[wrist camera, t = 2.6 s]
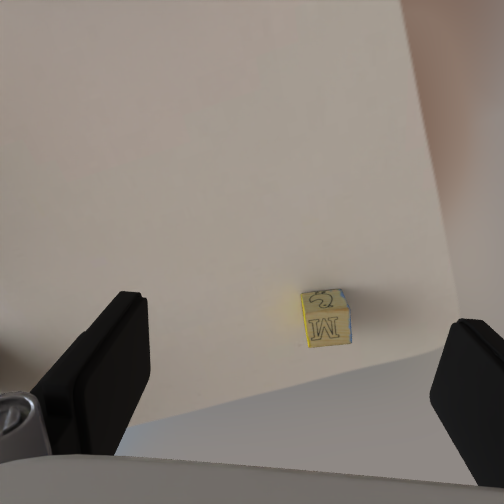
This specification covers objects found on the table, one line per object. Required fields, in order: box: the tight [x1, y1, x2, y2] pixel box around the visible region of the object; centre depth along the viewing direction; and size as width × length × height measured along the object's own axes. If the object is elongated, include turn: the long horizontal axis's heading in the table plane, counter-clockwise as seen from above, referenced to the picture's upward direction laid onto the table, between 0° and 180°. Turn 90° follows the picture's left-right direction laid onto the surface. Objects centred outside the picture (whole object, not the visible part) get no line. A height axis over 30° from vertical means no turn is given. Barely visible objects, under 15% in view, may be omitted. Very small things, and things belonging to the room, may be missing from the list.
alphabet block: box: [301, 289, 352, 348], centre depth 25 cm, size 3×3×3 cm
